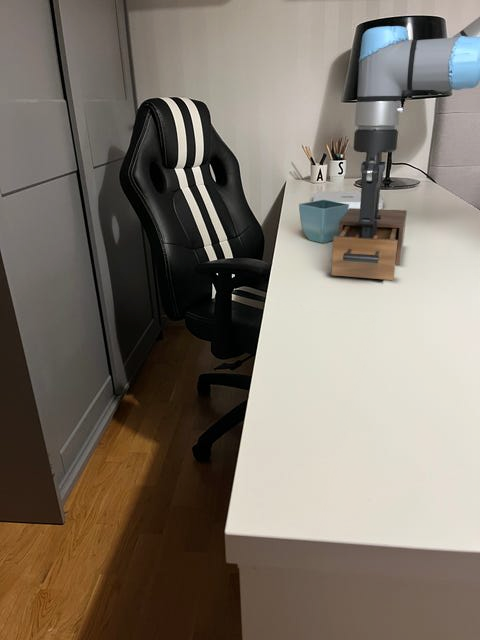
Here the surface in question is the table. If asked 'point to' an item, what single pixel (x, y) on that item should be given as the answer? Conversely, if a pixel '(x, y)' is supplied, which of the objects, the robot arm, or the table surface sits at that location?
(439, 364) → the table surface
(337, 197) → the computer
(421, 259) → the table surface
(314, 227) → the flower pot
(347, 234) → the drawer
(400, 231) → the cabinet
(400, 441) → the table surface
